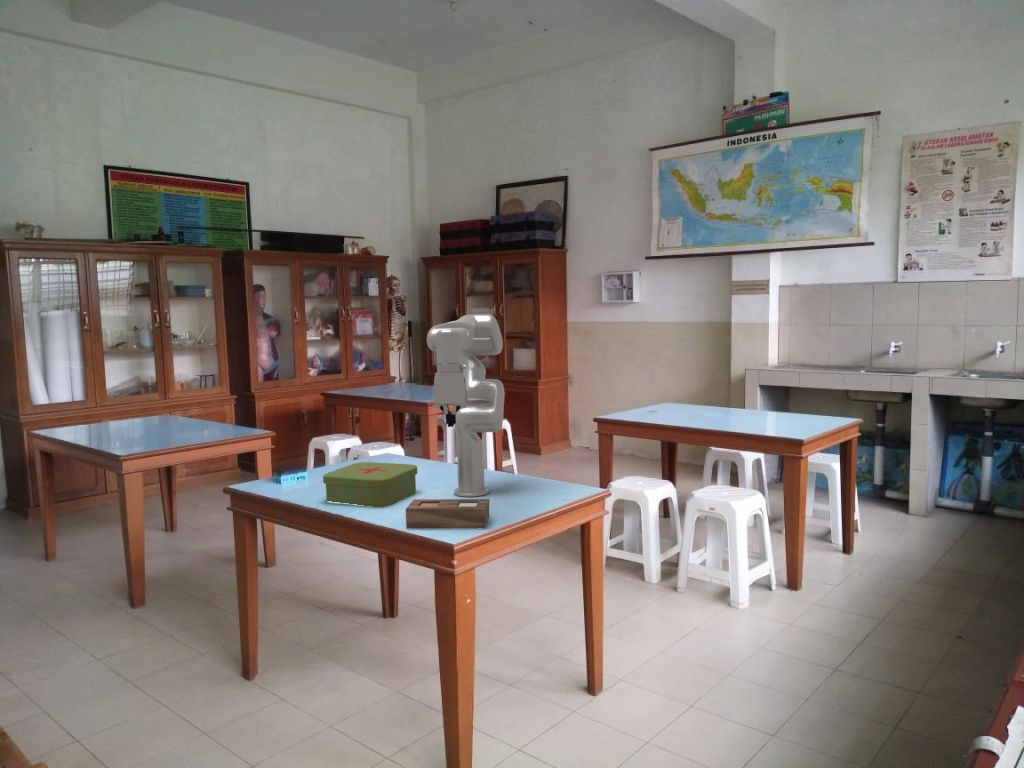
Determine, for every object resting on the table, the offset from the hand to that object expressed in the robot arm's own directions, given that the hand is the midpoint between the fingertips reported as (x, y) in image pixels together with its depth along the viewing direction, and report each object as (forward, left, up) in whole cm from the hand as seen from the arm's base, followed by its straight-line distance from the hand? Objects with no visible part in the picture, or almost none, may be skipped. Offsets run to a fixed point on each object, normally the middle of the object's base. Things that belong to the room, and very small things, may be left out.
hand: (451, 426), depth 240 cm
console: (+9, 0, -29) cm, 30 cm away
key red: (+9, -6, -28) cm, 30 cm away
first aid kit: (-25, -33, -29) cm, 51 cm away
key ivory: (+9, +6, -28) cm, 30 cm away
